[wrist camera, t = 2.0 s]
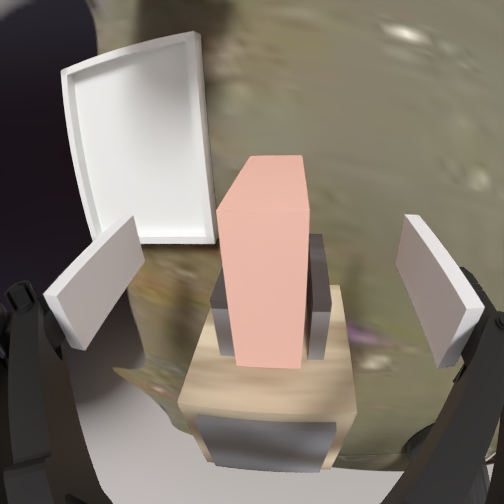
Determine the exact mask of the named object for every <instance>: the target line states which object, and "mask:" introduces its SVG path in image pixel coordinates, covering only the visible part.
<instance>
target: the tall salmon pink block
mask: <svg viewBox="0 0 504 504" xmlns="http://www.w3.org/2000/svg"><path fill="white" fill-rule="evenodd" d="M216 214H217V223H218V232H219V240H220V248H221V256H222V264H223V272H224V280H225V288H226V295H227V303H228V310H229V317H230V324H231V331H232V338H233V345H234V352H235V359H236V365H237V366H245V367H262V368H288V369H301V359H302V348H303V335H304V321H305V306H306V290H307V270H308V246H309V203H308V195H307V187H306V180H305V173H304V166H303V159H302V156H299V155H284V156H250V157H249V159H248V161H247V162H246V164H245V165H244V167H243V168H242V170H241V171H240V173H239V175H238V176H237V178H236V179H235V181H234V183H233V184H232V186H231V187H230V189H229V191H228V192H227V194H226V195H225V197H224V199H223V200H222V202H221V204H220V205H219V207H218V209H217V210H216Z"/></svg>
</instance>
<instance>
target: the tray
mask: <svg viewBox="0 0 504 504" xmlns="http://www.w3.org/2000/svg"><path fill="white" fill-rule="evenodd" d="M61 79H62V90H63V100H64V109H65V116H66V123H67V130H68V136H69V142H70V148H71V153H72V159H73V164H74V169H75V173H76V178H77V183H78V187H79V191H80V195H81V199H82V203H83V207H84V211H85V215H86V219H87V222H88V226H89V229H90V233H91V236H92V239H93V241H94V240H96V239H97V238H98V237H99V236H100V235H101V234H102V233H103V232H104V231H105V230H106V229H107V228H108V227H109V226H110V225H111V224H112V223H114V222H115V221H116V220H117V219H118V218H119V217H120V216H122V215H134V219H135V224H136V228H137V232H138V236H139V240H140V244H215V243H216V241H217V239H218V237H219V232H218V223H217V214H216V201H215V191H214V182H213V172H212V163H211V152H210V142H209V131H208V120H207V109H206V97H205V84H204V71H203V57H202V43H201V34H199V33H197V32H195V31H191V32H185V33H180V34H175V35H170V36H166V37H161V38H157V39H153V40H149V41H145V42H141V43H137V44H134V45H130V46H127V47H124V48H120V49H117V50H114V51H111V52H108V53H105V54H102V55H99V56H96V57H93V58H91V59H88V60H85V61H83V62H80V63H78V64H75V65H73V66H70V67H68V68H65V69H63V70H61Z"/></svg>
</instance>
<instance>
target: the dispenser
mask: <svg viewBox="0 0 504 504" xmlns="http://www.w3.org/2000/svg"><path fill="white" fill-rule="evenodd" d="M210 303H211V308H210V310H209V313H208V316H207V319H206V322H205V324H204V327H203V330H202V333H201V336H200V338H199V341H198V344H197V347H196V350H195V353H194V356H193V358H192V361H191V364H190V367H189V370H188V373H187V376H186V379H185V381H184V384H183V387H182V390H181V393H180V396H179V399H178V402H177V403H178V405H179V408H180V410H181V412H182V414H183V416H184V418H185V420H186V422H187V424H188V426H189V428H190V430H191V432H192V434H193V436H194V438H195V440H196V442H197V443H198V445H199V447H200V449H201V451H202V453H203V455H204V456H205V458H206V460H207V461H208V462H213V463H215V465H216V466H222V467H229V468H238V469H247V470H258V471H273V472H320V469H330V468H331V467H332V465H333V463H334V461H335V459H336V457H337V455H338V453H339V451H340V449H341V447H342V445H343V443H344V441H345V439H346V436H347V434H348V432H349V430H350V428H351V426H352V423H353V421H354V419H355V417H356V414H357V407H356V397H355V388H354V379H353V371H352V363H351V355H350V348H349V341H348V334H347V328H346V321H345V315H344V309H343V303H342V297H341V291H340V286H339V285H330V284H329V277H328V270H327V264H326V257H325V251H324V245H323V239H322V234H309V246H308V270H307V290H306V306H305V321H304V335H303V348H302V359H301V369H288V368H262V367H245V366H237V365H236V359H235V352H234V345H233V338H232V331H231V324H230V317H229V310H228V303H227V295H226V288H225V280H224V272H223V267H222V269H221V272H220V275H219V277H218V280H217V283H216V285H215V288H214V290H213V293H212V296H211V298H210Z"/></svg>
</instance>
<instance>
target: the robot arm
mask: <svg viewBox="0 0 504 504" xmlns="http://www.w3.org/2000/svg"><path fill="white" fill-rule="evenodd" d="M144 262H145V259H144V255H143V252H142V248H141V244H140V240H139V236H138V232H137V228H136V224H135V219H134V215H122V216H120V217H119V218H118V219H117V220H116V221H115V222H114V223H112V224H111V225H110V226H109V227H108V228H107V229H106V230H105V231H104V232H103V233H102V234H101V235H100V236H99V237H98V238H97V239H96V240H94V241H93V243H91V245H89V246H88V247H87V248H86V249H85V250H84V251H83V252H82V253H81V254H80V255H79V256H78V257H77V258H76V259H75V260H74V261H73V262H72V264H71V265H70V266H68V267H67V268H65V269H64V270H63V272H62V273H61V274H60V275H59V276H58V277H57V278H56V279H55V280H54V282H52V283H51V284H50V286H49V287H48V288H47V289H46V290H45V291H44V292H43V293H42V294H41V295H40V297H39V298H38V299H37V297H36V295H35V292H34V290H33V288H32V286H31V284H30V282H28V281H21V282H18V283H16V284H14V285H13V286H11V287H10V288H9V289H8V290H7V291H6V293H5V295H4V297H5V299H6V301H7V303H8V304H9V306H10V308H11V310H12V312H6V310H5V308H4V306H3V304H1V303H0V350H1V351H2V352H3V354H4V356H3V358H1V357H0V504H113V503H112V502H111V500H110V499H109V498H108V496H107V495H106V494H105V493H104V491H103V490H102V488H101V486H100V484H99V481H98V478H97V476H96V473H95V470H94V468H93V464H92V461H91V458H90V455H89V453H88V449H87V446H86V443H85V439H84V436H83V432H82V429H81V425H80V421H79V417H78V413H77V410H76V405H75V401H74V396H73V391H72V386H71V382H70V377H69V371H68V366H67V358H66V352H65V348H64V346H63V344H62V341H63V340H64V338H65V337H66V339H67V341H68V342H69V344H70V346H71V347H72V348H76V349H80V350H84V351H85V350H86V348H87V347H88V345H89V343H90V342H91V340H92V339H93V337H94V335H95V334H96V332H97V331H98V329H99V328H100V326H101V325H102V323H103V322H104V320H105V319H106V317H107V316H108V313H110V311H111V309H112V308H113V306H114V305H115V304H116V302H117V300H118V299H119V297H120V296H121V295H122V293H123V292H124V290H125V289H126V287H127V286H128V285H129V283H130V282H131V280H132V279H133V277H134V276H135V275H136V273H137V272H138V270H139V269H140V268H141V266H142V265H143V263H144ZM395 265H396V267H397V269H398V272H399V274H400V276H401V278H402V280H403V283H404V285H405V287H406V289H407V292H408V294H409V296H410V298H411V301H412V303H413V305H414V308H415V310H416V313H417V315H418V318H419V320H420V323H421V325H422V328H423V330H424V333H425V335H426V338H427V341H428V343H429V346H430V349H431V352H432V354H433V357H434V360H435V363H436V366H437V368H443V367H450V366H455V364H456V362H457V361H458V359H459V357H460V355H462V358H463V360H464V364H463V366H462V368H461V369H460V371H459V372H458V374H457V376H456V377H455V379H454V380H453V382H454V385H453V387H452V390H451V392H450V394H449V396H448V398H447V400H446V402H445V404H444V406H443V408H442V410H441V412H440V414H439V416H438V417H437V419H436V421H435V423H434V424H433V425H431V426H429V427H427V428H425V429H424V430H422V431H420V432H419V433H417V434H416V435H415V436H414V437H412V438H411V439H410V440H409V442H408V443H407V446H406V447H407V454H408V458H409V460H410V462H411V463H410V464H409V466H408V467H407V469H406V470H405V472H404V473H403V474H402V476H401V477H400V479H399V480H398V482H397V483H396V484H395V486H394V487H393V488H392V490H391V491H390V492H389V493H388V495H387V496H386V497H385V499H384V500H383V501H382V502H381V504H504V312H501V311H496V309H495V307H494V306H493V304H492V303H491V301H490V299H489V298H488V296H487V295H486V293H485V292H484V291H482V287H481V286H480V285H479V284H478V282H477V280H476V279H475V277H474V276H473V274H471V273H470V272H469V271H468V270H466V269H465V268H464V267H458V266H457V264H456V263H455V261H454V260H453V259H452V257H451V256H450V255H449V253H448V252H447V250H446V249H445V248H444V246H443V245H442V244H441V242H440V241H439V240H438V239H437V237H436V236H435V235H434V233H433V232H432V231H431V230H430V228H429V227H428V226H427V225H426V223H425V222H424V221H423V220H422V218H421V217H420V216H419V215H406V214H405V215H404V221H403V227H402V233H401V238H400V243H399V249H398V254H397V259H396V263H395ZM500 414H501V416H500ZM499 418H500V426H499V435H498V443H497V450H496V456H495V462H494V468H493V472H492V477H491V482H490V480H489V475H488V470H487V466H486V461H485V456H486V453H487V451H488V448H489V446H490V443H491V440H492V438H493V435H494V432H495V430H496V427H497V424H498V421H499Z"/></svg>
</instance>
